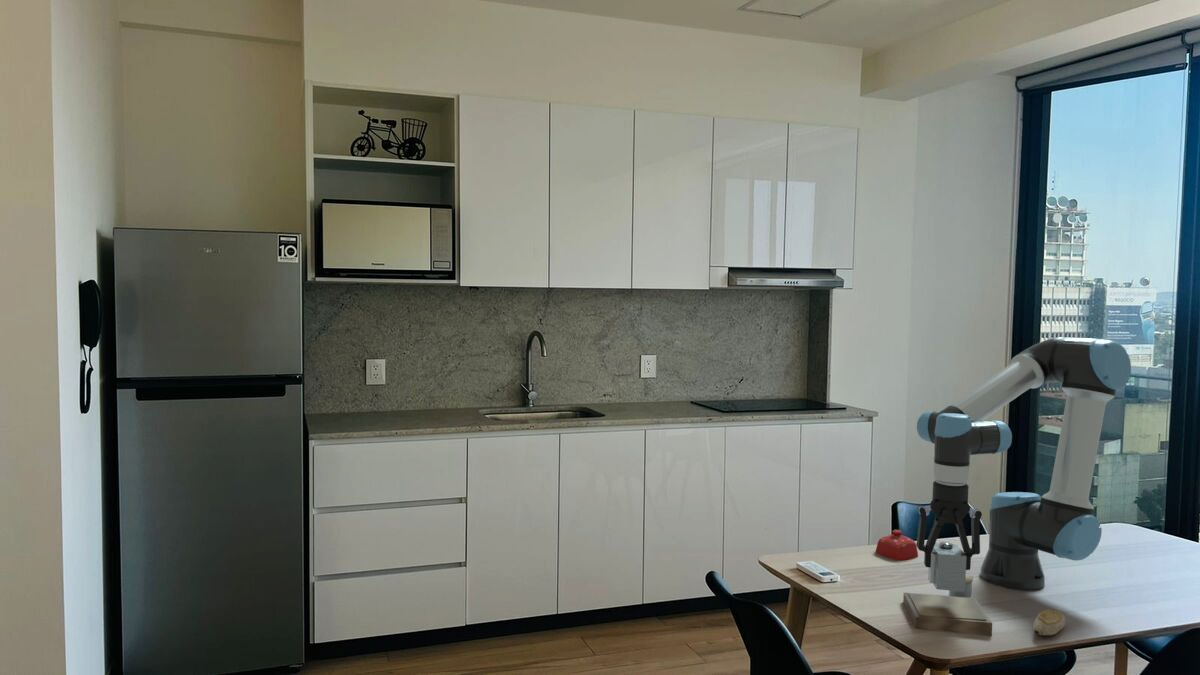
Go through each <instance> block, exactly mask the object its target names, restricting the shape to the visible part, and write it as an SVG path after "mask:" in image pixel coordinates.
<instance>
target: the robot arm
mask: <svg viewBox="0 0 1200 675" xmlns="http://www.w3.org/2000/svg"><path fill="white" fill-rule="evenodd" d="M1131 374H1132V363H1131V358H1130V355H1129V353H1127V350H1126V349H1125V347H1124V346H1123V345H1122V344H1120V343H1119V342H1117V341H1115V340H1111V339H1103V338H1085V337H1069V336H1057V337H1052V338H1048V339H1046V340H1042V341H1039V342H1038V343H1035V344H1033V345H1032V346H1030V347H1028V348H1025V349H1024V350H1022V351H1020V352H1019V353H1018V354H1016V355H1015V356H1013V357H1012V358H1011V360H1010V363H1009V365H1007V366H1006V367H1004V368H1003V369H1001V370H1000V371H998V372H997V373H995V374H994V375H992V376H991V377H989V378H988V379H986V380H985V381H983V382H982V383H981V384H979V385H978V386H976V387H975V388H973V389H971V390H970V391H969V392H967V393H965V395H963V396H961V397H960V398H958V399H957V400H955V401H954V402H952V403H951V404H950V405H948V406H946V407H945V408H944V409H942V410H941V411H938V412H937V411H926V412H924V413H922V414H921V415H920V416H918V417H919V418H918V419H917V422H916V431H917V434H918V436H919V438H921V439H922V441H926V442H929V443H932V444H933V445H934V455H933V456H934V457H933V459H934V460H933V474H932V475H933V478H932V479H933V480H934V481H933V482H932V496H931V497H932V498H931V499H932V500H931V502H930V503H929V504H928V505H918V506H917V510H918V511H917V512H918V514H919V517H918V526H917V528H918V529H917V536H916V546H917V550H918V551H920V552H924V557H923V559H924V560H923V564H924V566H925V567H926V568H928V574H927V575H928V576H927V579H928V581H929V583H930V584H933V583H934V567H935V554H934V553H933V552H932V551H933V548H934V545H935V543H937V540H938V537H939V534H940V532H941V529H942V528H943V527H944V524H949V523H951V524H953V525H955V526H956V529H957V533H958V536H959V541H960V543H961V548H962V551H963V552H964V554H965V555H966V556H967V557H966V571H970V570H971V565H972V564H971V563H972V561H971V560H972V557H973V556H974V555H979V554H981V540H980V539H981V536H980V535H981V533H980V529H981V528H980V521H981V519H982V516H983V513H982V511H980V510H979V509H978V508H973V507H970V505H969V485H968V484H967V483H969V482H970V464H971V463H970V461H971V456H973V455H974V456H976V455H989V454H990V455H991V454H992V455H996V454H999V453H1003V452H1005V451H1008V449H1009V448H1010V447H1011V446H1012V440H1013V435H1012V434H1013V433H1012V431H1011V428H1010V427H1009V426H1008V424H1007V423H1005V422H1003V421H1001V420H993V419H990V420H986V419H987V418H989V417H991V416H992V415H993V414H994V413H996V412H997V411H999V410H1001V409H1003V408H1004V407H1005V406H1007V405H1008V404H1009V403H1010V402H1012V401H1014V400H1016V399H1017V398H1018V397H1019V396H1021V395H1022V394H1023V393H1025V392H1027V391H1028V390H1030V389H1038V388H1040V387H1042V385H1045V384H1048V383H1061V390H1062V391H1063V392H1064V394H1065V395H1066V399H1065V405H1064V410H1063V417H1062V421H1061V426H1060V433H1059V438H1058V443H1057V449H1056V454H1055V459H1054V463H1053V464H1054V465H1053V470H1052V475H1051V479H1050V480H1051V481H1050V487H1049V491H1047V492H1046V493H1044V494H1043V495H1042V496H1041V495H1040V494H1038V493H1034V492H1026V491H1025V492H1023V491H1011V492H1010V491H1007V492H1006V491H1005V492H997V493H995V494H994V495H993V496H992V497H991V500H990V508H989V525H988V526H989V529H988V531H989V532H988V534H989V536H988V539H989V540H988V550H987V552H986V554H985V557H984V560H983V562H982V564H981V567H980V577H981V578H982V580H984V581H986V582H987V583H989V584H991V585H994V586H997V587H1001V588H1005V589H1010V590H1017V591H1019V590H1020V591H1034V590H1039V589H1042V588H1044V587H1045V580H1046V578H1045V574H1044V570H1043V566H1042V564H1041V560H1040V557H1039V551H1041V552H1043V553H1046V554H1047V553H1048V554H1051V555H1053V556H1056V557H1058V558H1060V559H1066V560H1071V561H1082V560H1085V559H1086V558H1088V557H1089V556H1090V555H1091V554H1093V553H1094V552H1095V550H1096V549H1097V547H1098V546H1099V543H1100V541H1101V538H1102V531H1103V530H1102V526H1101V522H1100V520H1099V519H1098V518H1097V517H1096V516H1095V515H1094V512H1095V506H1093V504H1092V503H1091V502H1090V493H1091V487H1092V482H1093V476H1094V471H1095V466H1096V462H1097V457H1098V456H1097V454H1098V450H1099V449H1098V448H1099V444H1100V438H1101V432H1102V428H1103V427H1102V426H1103V422H1104V417H1105V410H1106V406H1107V403H1109V402H1110V401H1111V400H1113V399H1115V397H1116V391H1117V390H1120V389H1122V388H1124V387H1126V385H1127V383H1128V382H1129V381H1130V378H1131ZM930 512H932V513H933V514H934V515H935V517H934V521H933V525H932V528H931V530H930V532H929V535H928V536H927V537H928V538H927V539H926V533H927V525H928V524H927V523H928V516H929V515H930ZM968 514H969V517H970V518H971V519H970V522H971V523H970V526H971V527H970V528H971V532H970V533H971V546H970V543H969V540H968V536H967V533H966V529H965V525H964V522H963V520H964V518H965V517H966V516H967V515H968ZM925 540H927V541H926V543H925Z"/></svg>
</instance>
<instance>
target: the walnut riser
mask: <svg viewBox="0 0 1200 675" xmlns="http://www.w3.org/2000/svg"><path fill="white" fill-rule="evenodd" d="M902 600H903V605H904V607H905V609H906V611H907V613H908V615H909V619H910V620H911V622H912V624H913V627H914V629H918V630H925V631H926V630H928V631H937V632H947V633H957V634H968V635H978V636H988V637H992V635H993V622H992V621H991V619H990V617H989V616H988V614H987V613H986V612H985V611H984V609H983V608H982V606H981V605H980V603H979V602H978V600H976V597H972V596H971V597H957V596H949V595H942V594H927V593H915V592H914V593H911V592H903V599H902Z"/></svg>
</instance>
